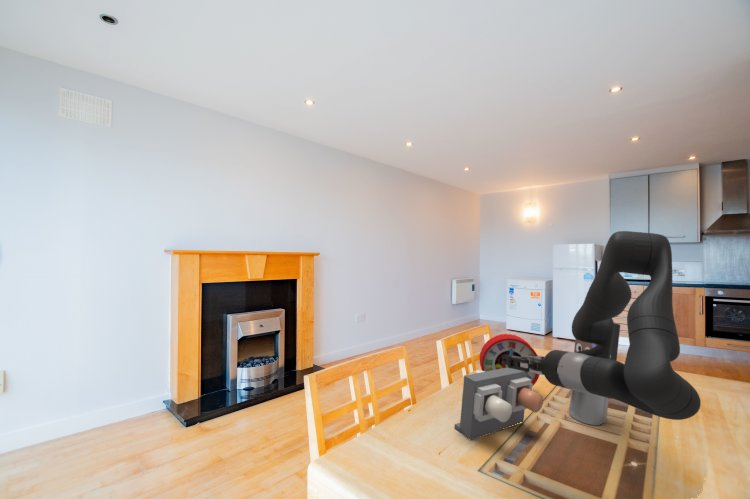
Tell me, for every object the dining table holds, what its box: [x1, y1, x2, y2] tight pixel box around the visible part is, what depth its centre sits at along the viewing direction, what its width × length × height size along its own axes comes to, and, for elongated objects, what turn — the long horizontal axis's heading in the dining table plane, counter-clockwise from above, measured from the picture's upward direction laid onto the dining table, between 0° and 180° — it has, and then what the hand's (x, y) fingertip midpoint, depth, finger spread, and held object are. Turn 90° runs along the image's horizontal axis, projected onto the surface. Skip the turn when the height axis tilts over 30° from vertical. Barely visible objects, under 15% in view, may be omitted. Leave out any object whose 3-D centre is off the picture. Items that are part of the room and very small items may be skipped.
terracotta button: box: [517, 388, 544, 414], centre depth 96 cm, size 4×5×5 cm
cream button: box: [485, 395, 512, 422], centre depth 90 cm, size 4×5×5 cm
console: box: [454, 367, 534, 441], centre depth 99 cm, size 22×8×16 cm, turn 120°
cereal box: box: [573, 322, 621, 361], centre depth 149 cm, size 17×5×24 cm, turn 10°
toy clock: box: [479, 333, 540, 387], centre depth 125 cm, size 20×6×20 cm, turn 80°
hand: (517, 359), depth 86 cm, fingers open, 8 cm apart
